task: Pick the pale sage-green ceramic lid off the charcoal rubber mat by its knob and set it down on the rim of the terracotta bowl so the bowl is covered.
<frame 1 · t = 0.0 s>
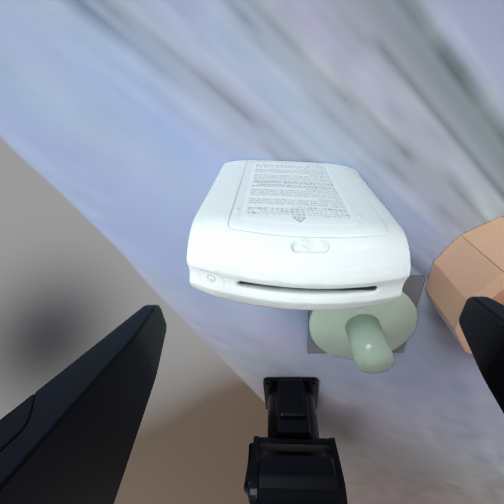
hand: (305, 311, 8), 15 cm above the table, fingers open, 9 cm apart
bowl: (495, 273, 25), on the table
lid: (360, 319, 28), resting on mat
mat: (358, 317, 28), on the table
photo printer: (285, 185, 22), on the table
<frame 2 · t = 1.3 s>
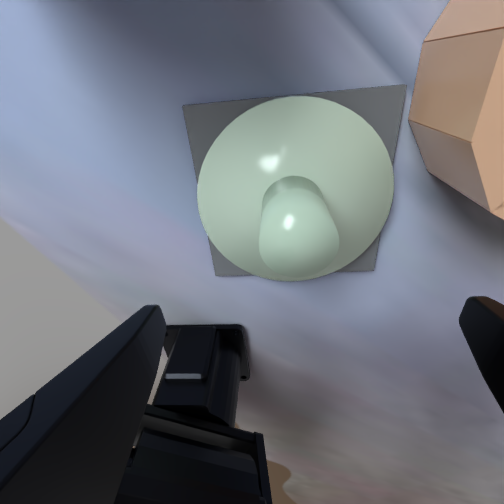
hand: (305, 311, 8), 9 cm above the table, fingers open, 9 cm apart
lid: (291, 200, 15), resting on mat
mat: (291, 197, 16), on the table
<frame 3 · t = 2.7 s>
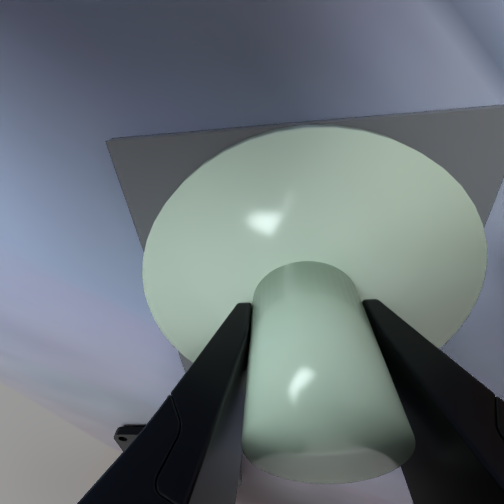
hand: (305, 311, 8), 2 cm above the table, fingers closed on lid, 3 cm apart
lid: (301, 287, 9), resting on mat, touching gripper
mat: (301, 279, 10), on the table
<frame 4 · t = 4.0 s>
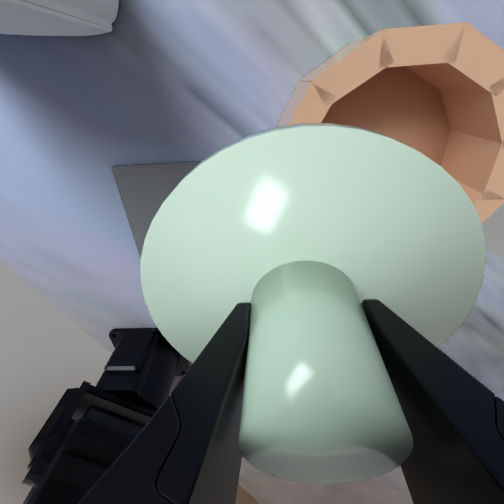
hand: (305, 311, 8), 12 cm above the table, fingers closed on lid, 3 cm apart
bowl: (363, 151, 17), on the table
lid: (300, 286, 9), point 11 cm above the table, touching gripper
mat: (201, 230, 21), on the table
when the fingers open (7 cm above the table, at t = 5.3 s): lid drops 1 cm, resting on bowl.
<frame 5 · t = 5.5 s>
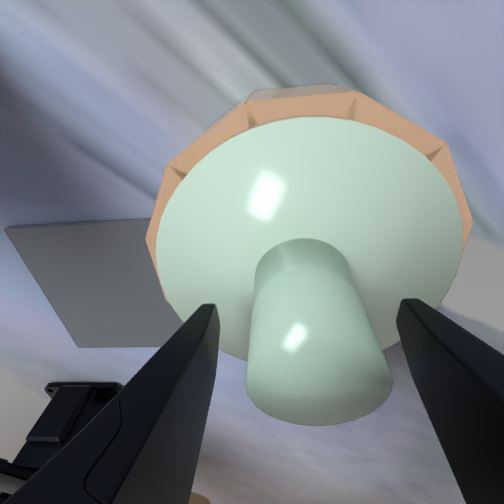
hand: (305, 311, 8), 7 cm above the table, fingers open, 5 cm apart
bowl: (291, 210, 15), on the table
lid: (299, 265, 10), point 5 cm above the table, touching bowl
mat: (121, 290, 18), on the table
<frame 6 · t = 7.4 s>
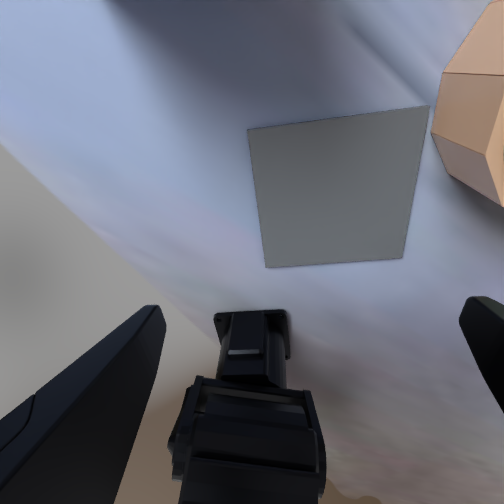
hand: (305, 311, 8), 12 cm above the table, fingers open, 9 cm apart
mat: (332, 199, 19), on the table
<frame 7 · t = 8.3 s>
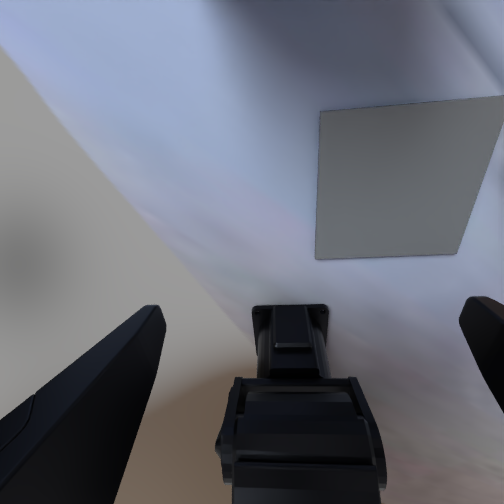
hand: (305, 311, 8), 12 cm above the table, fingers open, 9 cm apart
mat: (394, 189, 18), on the table
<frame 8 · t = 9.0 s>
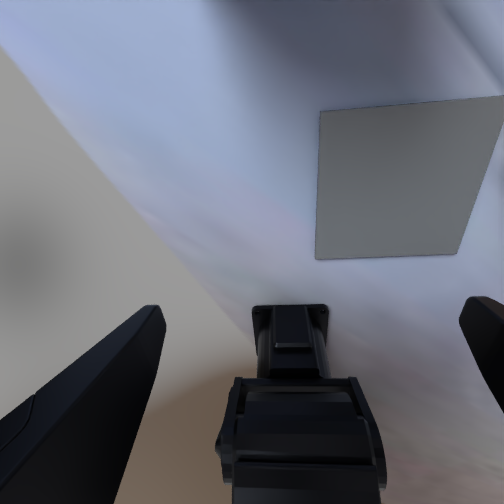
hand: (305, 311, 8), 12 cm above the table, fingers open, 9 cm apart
mat: (394, 189, 18), on the table
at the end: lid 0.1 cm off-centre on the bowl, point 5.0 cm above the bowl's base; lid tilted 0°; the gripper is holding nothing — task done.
